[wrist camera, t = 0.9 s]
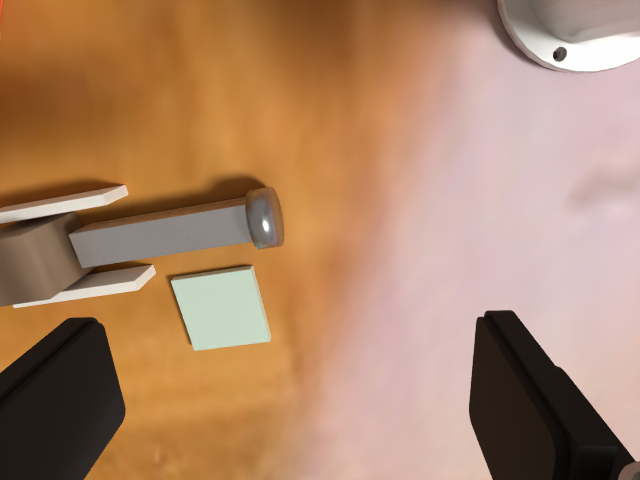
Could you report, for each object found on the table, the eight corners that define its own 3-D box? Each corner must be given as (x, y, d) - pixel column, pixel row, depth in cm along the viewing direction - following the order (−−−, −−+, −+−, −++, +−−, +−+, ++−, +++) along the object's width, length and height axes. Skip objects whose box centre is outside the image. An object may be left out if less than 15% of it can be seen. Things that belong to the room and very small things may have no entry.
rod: (274, 180, 31) (263, 194, 27) (286, 234, 33) (277, 255, 29) (87, 213, 33) (50, 231, 29) (106, 262, 35) (73, 285, 31)
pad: (252, 265, 34) (250, 269, 33) (271, 336, 36) (269, 341, 36) (174, 276, 35) (170, 280, 34) (197, 345, 37) (194, 350, 37)
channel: (125, 184, 33) (102, 194, 30) (156, 273, 35) (137, 290, 32) (3, 207, 34) (-31, 218, 31) (41, 290, 36) (14, 308, 33)
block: (75, 211, 34) (21, 235, 28) (97, 266, 35) (50, 299, 30) (21, 220, 34) (-43, 246, 29) (45, 274, 36) (-11, 308, 30)
